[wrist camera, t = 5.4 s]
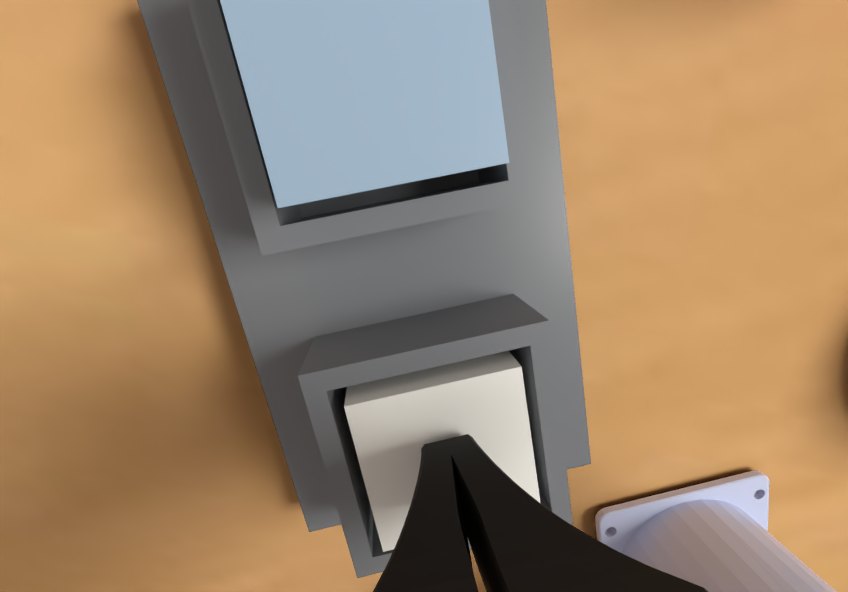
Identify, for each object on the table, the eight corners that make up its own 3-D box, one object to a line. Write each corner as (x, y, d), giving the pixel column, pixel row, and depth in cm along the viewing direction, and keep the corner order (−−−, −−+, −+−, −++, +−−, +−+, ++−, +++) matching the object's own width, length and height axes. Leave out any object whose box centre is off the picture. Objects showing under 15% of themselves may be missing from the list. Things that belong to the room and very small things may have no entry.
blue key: (476, 169, 11) (509, 162, 9) (303, 203, 11) (277, 208, 8) (445, -31, 10) (472, -118, 7) (250, 2, 10) (199, -75, 7)
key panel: (573, 441, 18) (637, 523, 13) (315, 503, 17) (293, 610, 13) (518, -57, 13) (591, -183, 9) (159, 2, 12) (39, -101, 8)
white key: (510, 451, 15) (541, 512, 12) (382, 482, 15) (382, 551, 12) (491, 330, 14) (521, 366, 11) (350, 361, 14) (343, 406, 11)
